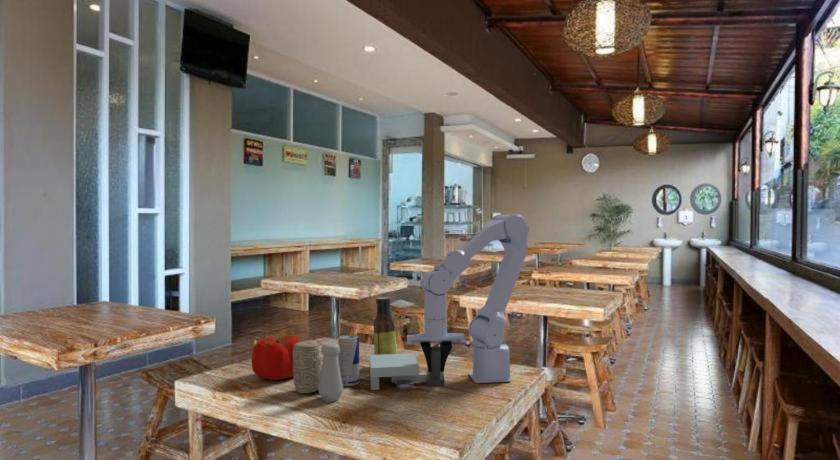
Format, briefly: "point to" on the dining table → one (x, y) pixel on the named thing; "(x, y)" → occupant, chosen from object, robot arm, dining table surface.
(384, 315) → the sauce bottle
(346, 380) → the energy drink
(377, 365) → the pale grey angled bracket
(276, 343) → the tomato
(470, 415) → the dining table surface
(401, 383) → the token
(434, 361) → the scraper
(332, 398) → the salt shaker
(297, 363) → the carving
